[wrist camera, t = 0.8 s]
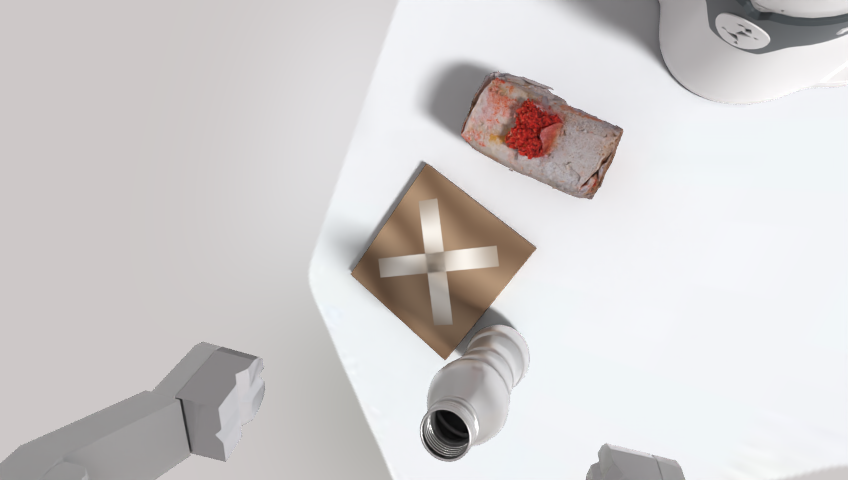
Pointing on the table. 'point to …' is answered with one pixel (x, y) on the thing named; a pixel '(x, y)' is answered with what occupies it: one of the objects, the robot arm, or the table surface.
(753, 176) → the table surface
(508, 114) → the food item
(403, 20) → the table surface
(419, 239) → the brown board with cross
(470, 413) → the plastic bottle
